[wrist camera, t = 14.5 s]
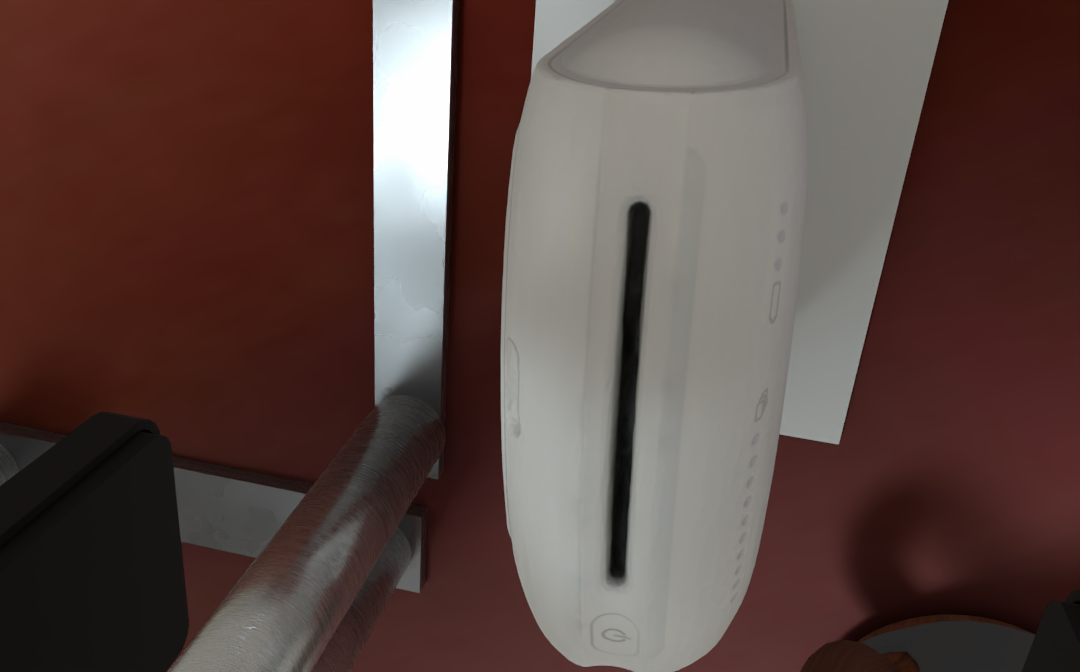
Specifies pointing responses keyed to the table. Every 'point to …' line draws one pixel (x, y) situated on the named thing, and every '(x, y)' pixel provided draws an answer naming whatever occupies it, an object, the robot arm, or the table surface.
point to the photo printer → (650, 321)
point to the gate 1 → (400, 371)
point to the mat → (833, 176)
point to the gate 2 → (260, 529)
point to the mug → (929, 647)
